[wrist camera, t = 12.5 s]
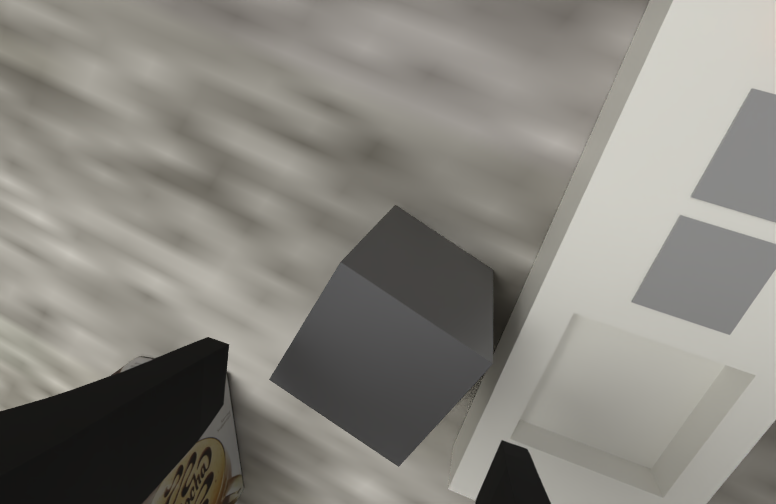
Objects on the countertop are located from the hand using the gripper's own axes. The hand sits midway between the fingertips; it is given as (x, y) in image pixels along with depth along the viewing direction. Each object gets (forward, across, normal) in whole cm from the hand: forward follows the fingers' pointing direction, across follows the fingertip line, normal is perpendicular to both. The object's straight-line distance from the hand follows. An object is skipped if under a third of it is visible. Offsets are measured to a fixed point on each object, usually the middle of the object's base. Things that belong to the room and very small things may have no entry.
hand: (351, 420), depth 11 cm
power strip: (+9, -9, -3) cm, 13 cm away
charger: (+9, 0, 0) cm, 9 cm away
